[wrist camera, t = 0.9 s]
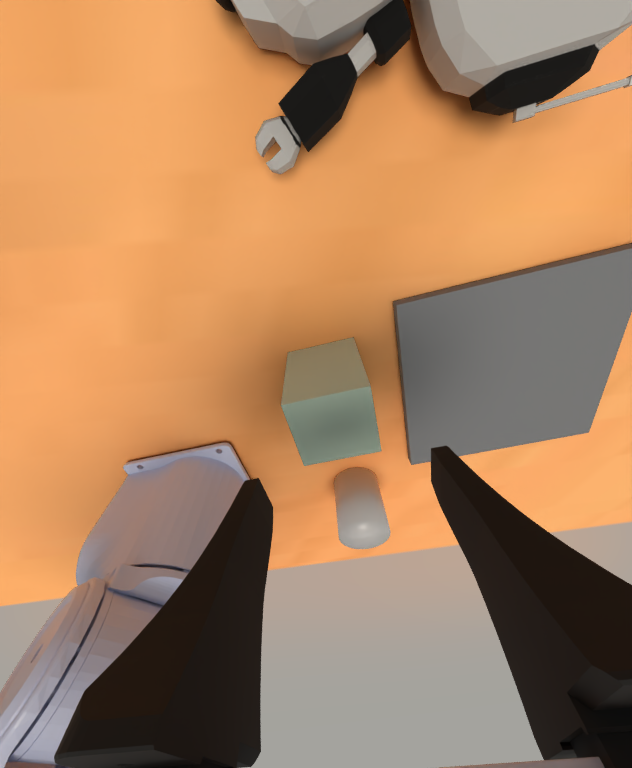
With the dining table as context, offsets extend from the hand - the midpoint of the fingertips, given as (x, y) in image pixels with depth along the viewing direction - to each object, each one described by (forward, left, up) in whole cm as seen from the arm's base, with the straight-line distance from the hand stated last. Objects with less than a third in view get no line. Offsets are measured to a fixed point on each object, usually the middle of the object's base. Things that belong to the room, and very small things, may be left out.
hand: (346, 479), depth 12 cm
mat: (+12, -3, -9) cm, 15 cm away
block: (0, 0, -10) cm, 10 cm away
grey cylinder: (0, -12, -10) cm, 16 cm away
